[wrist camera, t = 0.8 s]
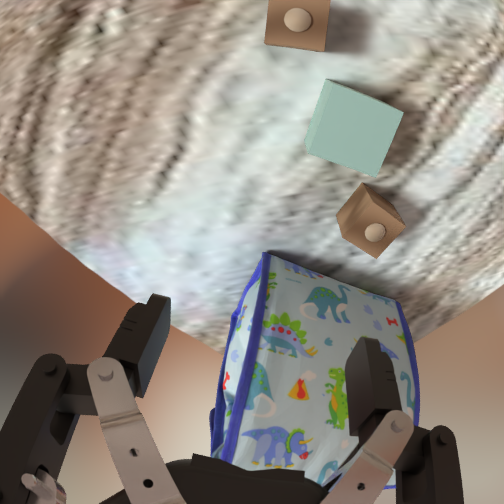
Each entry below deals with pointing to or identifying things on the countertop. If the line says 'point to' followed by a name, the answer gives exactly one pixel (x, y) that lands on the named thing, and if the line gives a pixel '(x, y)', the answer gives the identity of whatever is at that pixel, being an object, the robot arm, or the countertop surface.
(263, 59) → the countertop surface
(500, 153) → the countertop surface
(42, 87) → the countertop surface
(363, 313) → the lunch bag
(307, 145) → the plain block
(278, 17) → the dotted cube
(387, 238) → the dotted cube
